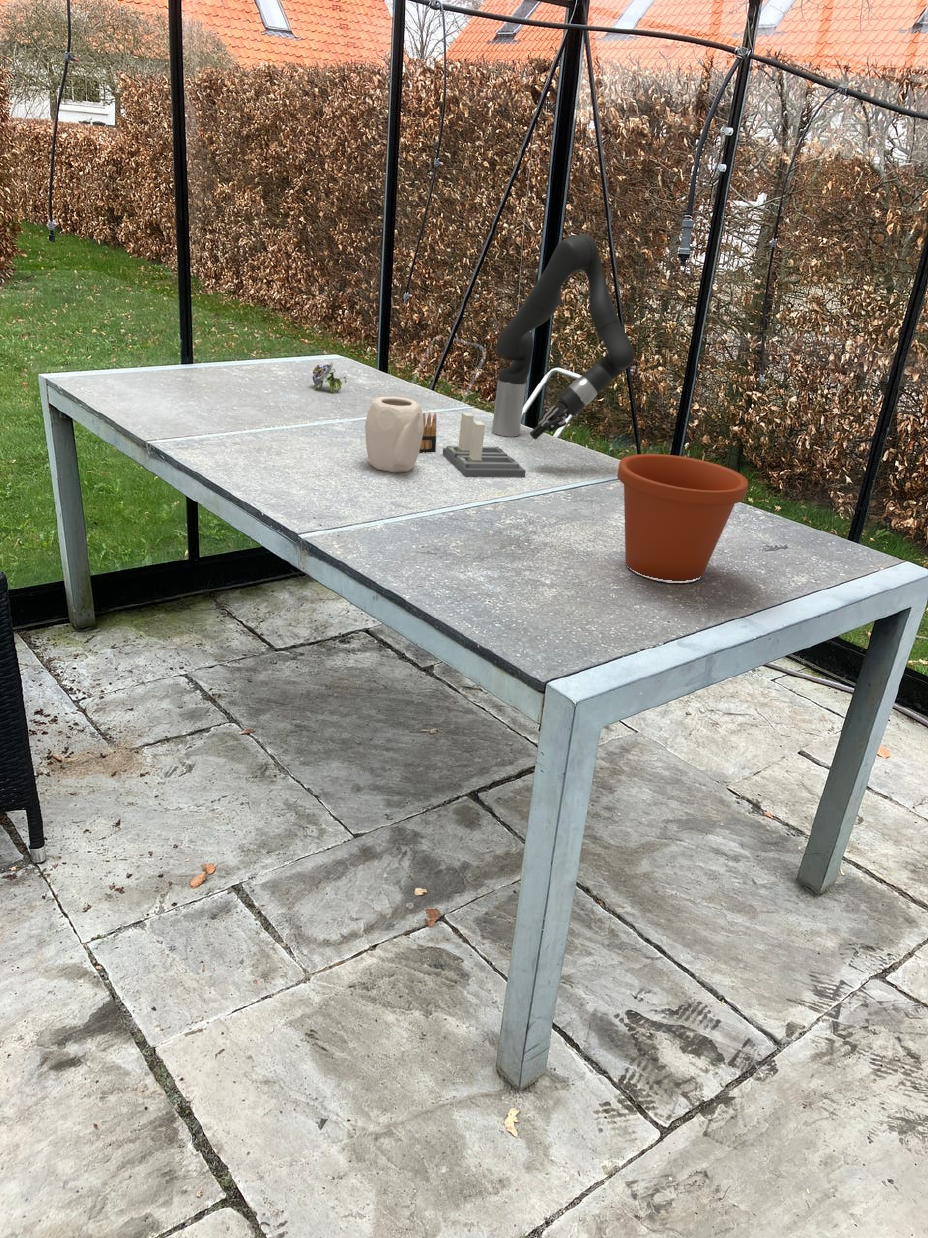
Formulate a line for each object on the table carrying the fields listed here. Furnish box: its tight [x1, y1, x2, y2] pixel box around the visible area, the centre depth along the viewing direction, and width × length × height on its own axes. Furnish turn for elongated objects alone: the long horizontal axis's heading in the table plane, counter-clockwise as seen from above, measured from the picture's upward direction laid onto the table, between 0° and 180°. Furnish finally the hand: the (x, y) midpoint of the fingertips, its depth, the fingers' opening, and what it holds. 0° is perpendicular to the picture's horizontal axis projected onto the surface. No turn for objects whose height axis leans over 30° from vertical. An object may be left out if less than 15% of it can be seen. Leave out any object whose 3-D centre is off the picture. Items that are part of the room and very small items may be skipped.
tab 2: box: [468, 420, 486, 462], centre depth 276 cm, size 4×3×12 cm
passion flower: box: [311, 362, 348, 395], centre depth 353 cm, size 11×11×12 cm
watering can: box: [364, 396, 424, 473], centre depth 268 cm, size 16×27×19 cm, turn 29°
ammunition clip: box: [419, 412, 437, 454], centre depth 288 cm, size 11×2×12 cm, turn 117°
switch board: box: [442, 445, 527, 478], centre depth 284 cm, size 22×18×3 cm
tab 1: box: [456, 412, 475, 452], centre depth 284 cm, size 4×3×12 cm
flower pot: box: [617, 453, 749, 581], centre depth 217 cm, size 28×28×23 cm
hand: (532, 436), depth 281 cm, fingers closed
